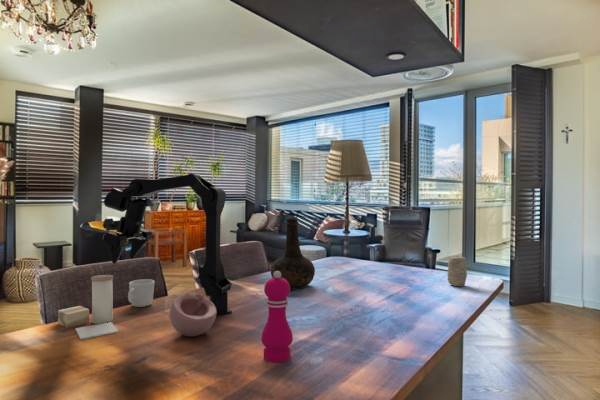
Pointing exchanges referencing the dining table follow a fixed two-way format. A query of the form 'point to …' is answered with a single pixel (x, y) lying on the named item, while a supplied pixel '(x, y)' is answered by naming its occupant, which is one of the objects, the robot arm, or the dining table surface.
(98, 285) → the tumbler
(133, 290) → the cup
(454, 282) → the carving
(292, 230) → the dark brown vase
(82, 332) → the mat
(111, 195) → the robot arm
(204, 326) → the mortar and pestle
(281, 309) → the pepper mill
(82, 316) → the oak block
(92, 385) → the dining table surface
